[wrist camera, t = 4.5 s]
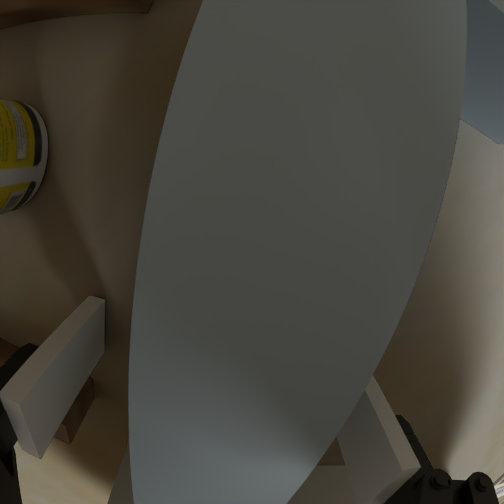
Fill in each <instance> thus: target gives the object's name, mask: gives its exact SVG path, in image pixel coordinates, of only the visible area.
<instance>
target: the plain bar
mask: <svg viewBox="0 0 504 504" xmlns="http://www.w3.org/2000/svg"><path fill="white" fill-rule="evenodd" d="M108 504H134V500H133V490H132V479H131V466H130V449H129V440H128V443H127V446H126V449H125V452H124V455H123V458H122V461H121V464H120V467H119V470H118V473H117V476H116V479H115V482H114V485H113V488H112V491H111V494H110V497H109V501H108ZM286 504H356V500H355V497H354V493H353V490H352V487H351V483H350V480H349V476H348V473H347V470H346V466H345V465H316V466H315V468H314V469H313V470H312V472H311V473H310V474H309V476H308V477H307V478H306V480H305V481H304V482H303V484H302V485H301V486H300V487H299V489H298V490H297V491H296V492H295V494H294V495H293V496H292V497H291V499H290V500H289V501H288V502H287V503H286Z"/></svg>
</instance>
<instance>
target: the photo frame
mask: <svg viewBox="0 0 504 504" xmlns="http://www.w3.org/2000/svg"><path fill="white" fill-rule="evenodd" d="M503 479H504V474H503V475H502V476H501V477H500V478H499V479H498V480H497V481H496V482H495V483H493V485H494V488H495V491H496V495H497V498H498V497H501V496H503V495H504V481H502V480H503Z"/></svg>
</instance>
